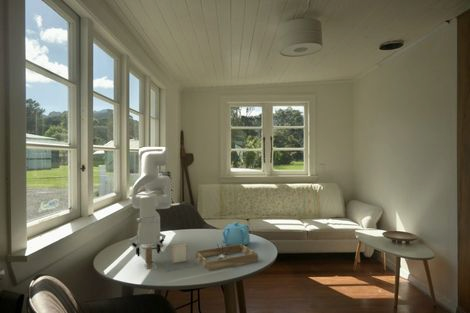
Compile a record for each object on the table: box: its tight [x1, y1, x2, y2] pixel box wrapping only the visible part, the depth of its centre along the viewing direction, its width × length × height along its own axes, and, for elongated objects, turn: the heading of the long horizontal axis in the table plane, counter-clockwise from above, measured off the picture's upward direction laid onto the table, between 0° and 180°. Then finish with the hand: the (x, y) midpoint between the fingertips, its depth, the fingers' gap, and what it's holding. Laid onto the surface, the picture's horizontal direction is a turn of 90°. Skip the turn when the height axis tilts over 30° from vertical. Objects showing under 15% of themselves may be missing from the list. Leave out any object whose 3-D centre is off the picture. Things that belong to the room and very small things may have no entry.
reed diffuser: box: [216, 243, 230, 260], centre depth 150 cm, size 10×7×20 cm
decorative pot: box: [221, 221, 251, 246], centre depth 175 cm, size 16×16×14 cm
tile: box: [171, 244, 188, 263], centre depth 146 cm, size 2×7×8 cm, turn 116°
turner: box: [143, 246, 158, 271], centre depth 143 cm, size 11×5×8 cm, turn 26°
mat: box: [160, 257, 200, 273], centre depth 142 cm, size 12×16×1 cm
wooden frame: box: [194, 244, 259, 271], centre depth 149 cm, size 19×27×4 cm
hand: (148, 254), depth 146 cm, fingers open, 9 cm apart
